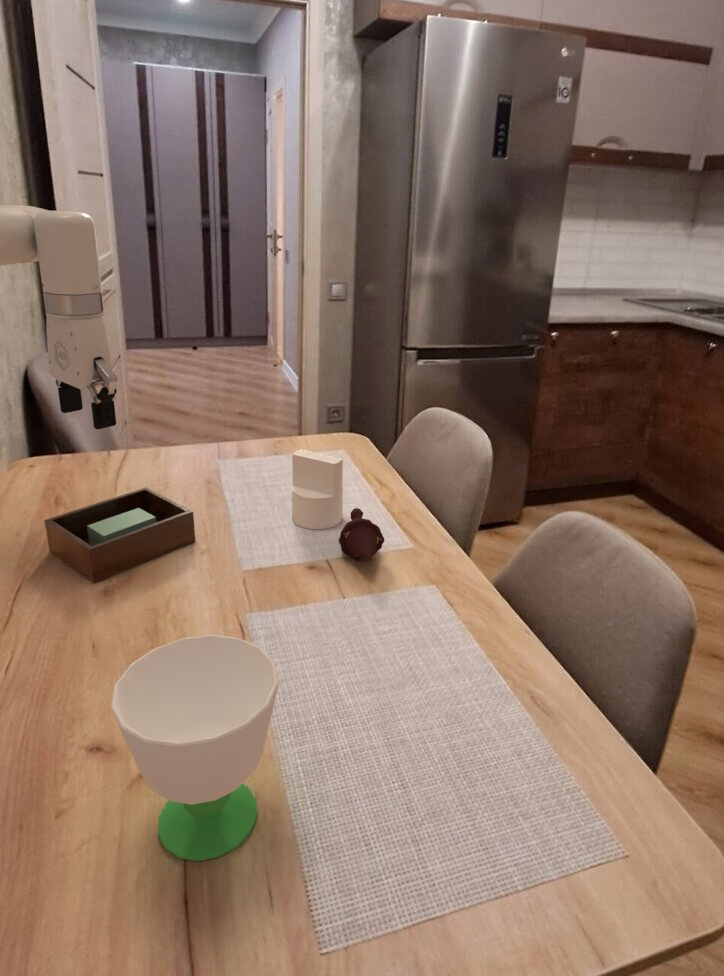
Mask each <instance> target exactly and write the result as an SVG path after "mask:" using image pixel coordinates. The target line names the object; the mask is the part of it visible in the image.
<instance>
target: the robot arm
mask: <svg viewBox="0 0 724 976" xmlns="http://www.w3.org/2000/svg"><path fill="white" fill-rule="evenodd" d="M36 262H38V264H39V265H38V266H39V272H40V279H41V285H42V293H43V294H42V295H43V302H44V310H45V316H46V330H45V331H46V346H47V347H46V348H47V357H48V358H47V359H48V366H49V367H48V368H49V374H50V375H51V376H52V378H55V385H56V387H57V393H58V400H59V407H60V412H61V413H63V414H67V413H74V412H78V411H82V410H83V406H84V405H83V399H82V398H83V397H82V390H84V389H86V388H87V390H88V392H89V394H90V397H91V398H92V400H93V402H91V403H90V407H91V415H92V422H93V423H92V425H93V428H94V429H96V430H102V429H107V428H110V427H115V426H116V425H117V418H116V417H117V416H116V406H115V401H116V394H117V392H118V391H117V385H118V380H119V379H118V376H117V375H116V373H115V372H114V371H113V370H112V361H111V354H110V353H111V352H110V347H109V341H108V336H107V331H106V326H105V322H104V318H103V316H105V308H104V297H103V288H102V287H103V286H102V278H101V269H100V260H99V249H98V240H97V231H96V224H95V222H94V219H93V218H92V216H90V215H89V214H87V213H85V212H81V211H80V212H79V211H72V210H71V211H70V210H69V211H68V210H48V209H45V208H40V207H36V206H32V205H8V204H7V205H5V204H1V205H0V267H1V266H7V265H15V264H16V265H17V264H27V263H36ZM98 388H100V390H99V392H98V390H97V389H98Z"/></svg>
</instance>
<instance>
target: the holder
mask: <svg viewBox="0 0 724 976" xmlns="http://www.w3.org/2000/svg"><path fill="white" fill-rule="evenodd" d="M137 508H140V509H142V510H144V511H145V512H147V513H149V514H151V515H153V516H155V517H156V523H154V524H151V525H148V526H146V527H143V528H140V529H138V530H135V531H132V532H129V533H127V534H124V535H121V536H119V537H116V538H113V539H110V540H108V541H105V542H102V543H100V544H97V545H94V546H90V543H89V536H88V530H87V525H90V524H93V523H96V522H99V521H102V520H105V519H108V518H111V517H114V516H116V515H119V514H122V513H125V512H128V511H131V510H134V509H137ZM194 517H195V516H194V511H193V510H191V509H189V508H187V507H185V506H184V505H182V504H179V503H177V502H176V501H175V500H172V499H170V498H168V497H166V496H164V495H162V494H160V493H158V492H156V491H154V490H152V489H150V488H148V487H146V486H145V487H143V488H140V489H137V490H134V491H130V492H128V493H124V494H122V495H118V496H115V497H112V498H109V499H106V500H103V501H99V502H96V503H94V504H90V505H87V506H84V507H81V508H77V509H75V510H71V511H68V512H66V513H62V514H59V515H56V516H53V517H50V518H47V519H44V526H45V532H46V537H47V542H48V549H49V552H50V553H51V554H52V555H54V556H55V557H57V558H58V559H60V560H61V561H62V562H64V563H65V564H66V565H67V566H70V567H71V568H72V569H74V570H75V571H76V572H78V573H79V574H80V575H82V576H83V577H85V578H86V579H87V580H89V581H90V582H92V583H93V584H96V583H98V582H101V581H103V580H105V579H108V578H110V577H113V576H115V575H118V574H120V573H123V572H124V571H125V572H126V571H128V570H130V569H132V568H135V567H137V566H140V565H142V564H144V563H147V562H150V561H151V560H154V559H157V558H159V557H162V556H164V555H166V554H168V553H171V552H173V551H176V550H179V549H181V548H183V547H186V546H188V545H191V544H193V543H195V542H196V530H195V518H194Z"/></svg>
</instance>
